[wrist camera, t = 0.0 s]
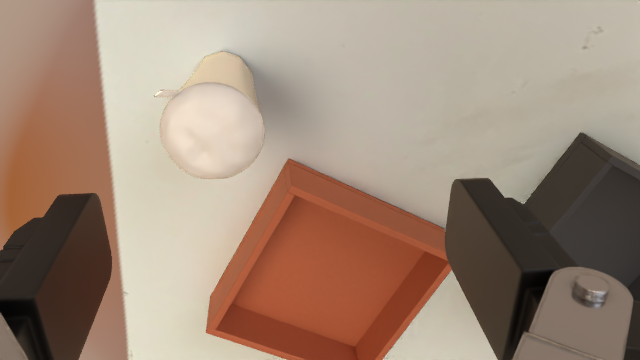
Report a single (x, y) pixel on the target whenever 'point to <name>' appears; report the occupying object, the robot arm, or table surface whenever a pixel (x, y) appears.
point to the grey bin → (594, 209)
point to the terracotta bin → (326, 272)
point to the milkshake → (213, 119)
